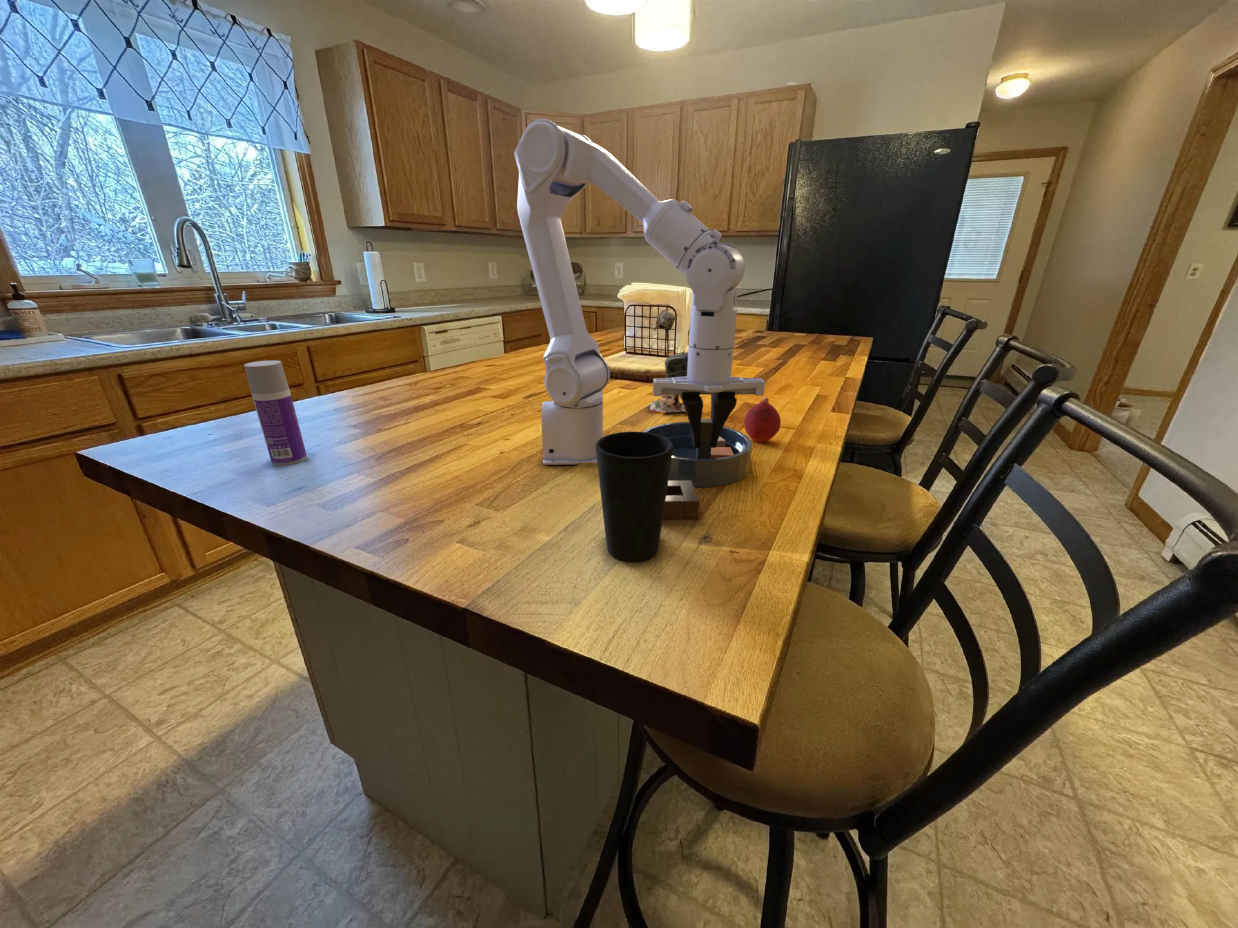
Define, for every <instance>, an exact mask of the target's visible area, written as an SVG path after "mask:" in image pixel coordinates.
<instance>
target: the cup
mask: <svg viewBox="0 0 1238 928" xmlns="http://www.w3.org/2000/svg"><path fill="white" fill-rule="evenodd" d="M595 447H596V456H597V462H596V464H597V472H598V480H599V482H598V483H599V489H600V500H601V507H602V517H603V525H604V526H603V527H604V535H605V542H606V550H607V553H608V554H609V556H610V557H612V558H614V559H615V560H618V561H621V562H625V563H641V562H645V561H649V560H651V559H653V558H654V557H655V556H656V555H657V554H658V552H659V549H660V540H661V534H662V528H663V521H664V520H663V514H664V507H665V500H666V493H667V486H668V479H669V472H670V466H671V459H672V452H673V444H672V443H671V441H670V440H668V439H667V438H665V437H663V436H660V435H657V434H653V433H647V432H643V431H620V432H615V433H614V432H613V433H609V434H606V435H603V437H602V438H600V439H599V440H598V441H597V442H596V445H595Z"/></svg>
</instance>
